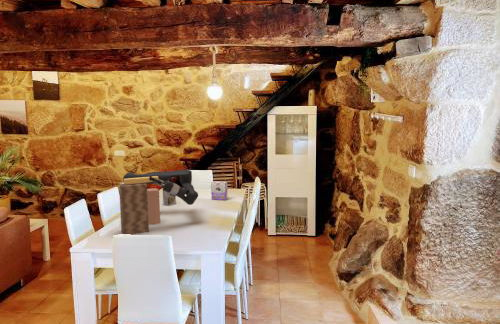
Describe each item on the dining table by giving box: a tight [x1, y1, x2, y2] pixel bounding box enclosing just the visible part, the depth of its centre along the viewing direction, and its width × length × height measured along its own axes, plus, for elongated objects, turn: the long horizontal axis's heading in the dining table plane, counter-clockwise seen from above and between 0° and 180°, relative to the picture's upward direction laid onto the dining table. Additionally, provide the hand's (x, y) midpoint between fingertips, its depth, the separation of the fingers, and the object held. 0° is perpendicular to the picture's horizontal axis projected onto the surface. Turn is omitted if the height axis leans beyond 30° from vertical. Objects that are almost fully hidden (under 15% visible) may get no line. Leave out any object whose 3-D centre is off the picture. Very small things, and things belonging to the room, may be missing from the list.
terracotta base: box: [147, 187, 161, 226], centre depth 275 cm, size 9×9×24 cm
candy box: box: [210, 180, 229, 201], centre depth 346 cm, size 14×6×16 cm, turn 76°
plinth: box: [118, 183, 150, 235], centre depth 254 cm, size 16×10×32 cm, turn 117°
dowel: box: [122, 176, 158, 184], centre depth 254 cm, size 22×4×3 cm, turn 117°
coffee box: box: [162, 189, 177, 207], centre depth 329 cm, size 9×6×16 cm
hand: (148, 177), depth 256 cm, fingers closed on dowel, 3 cm apart
